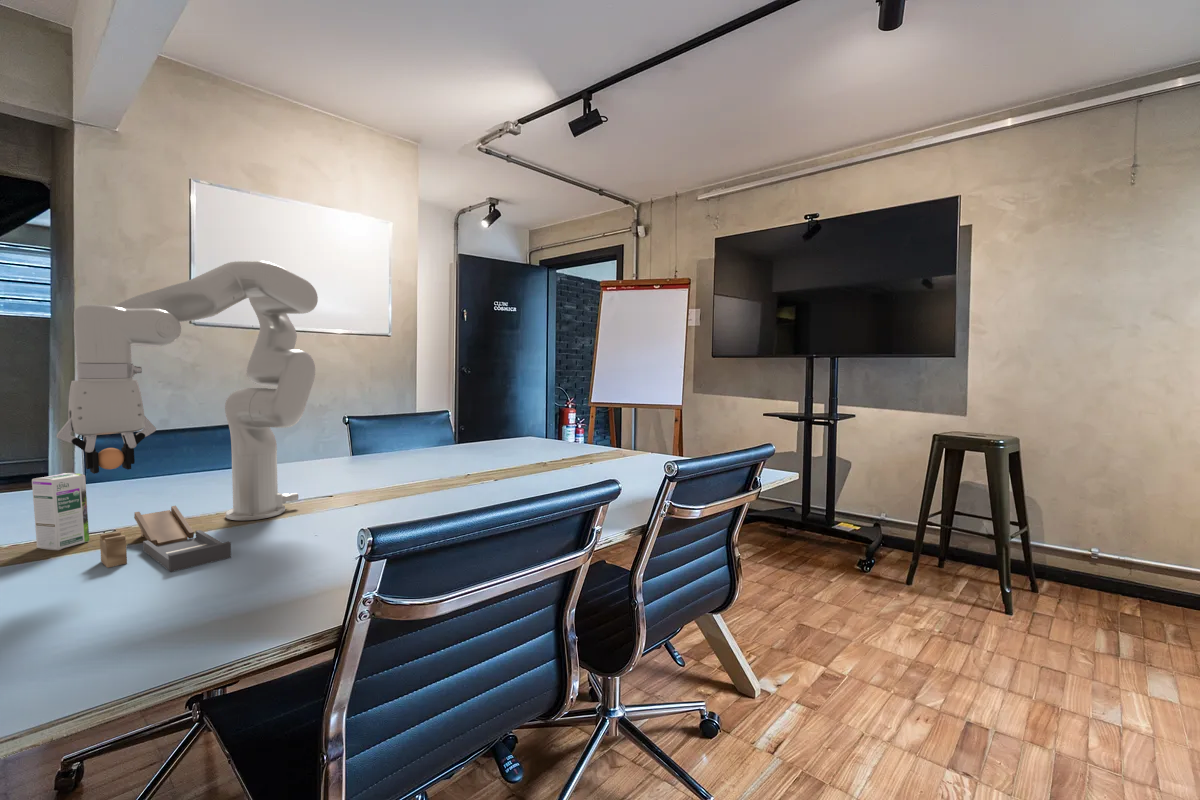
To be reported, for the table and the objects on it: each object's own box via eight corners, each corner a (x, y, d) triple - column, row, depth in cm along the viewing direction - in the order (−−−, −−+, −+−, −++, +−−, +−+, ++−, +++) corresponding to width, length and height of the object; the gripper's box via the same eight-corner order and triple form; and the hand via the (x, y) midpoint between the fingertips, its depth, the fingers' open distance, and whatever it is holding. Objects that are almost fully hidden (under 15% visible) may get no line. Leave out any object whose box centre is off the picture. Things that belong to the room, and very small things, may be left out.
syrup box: (57, 550, 108) (54, 479, 107) (35, 548, 109) (31, 477, 108) (90, 541, 114) (86, 473, 112) (68, 539, 115) (64, 471, 114)
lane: (200, 539, 116) (199, 525, 116) (231, 557, 106) (230, 542, 106) (143, 550, 109) (142, 536, 109) (170, 572, 99) (170, 556, 98)
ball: (122, 466, 104) (120, 445, 104) (127, 468, 102) (126, 447, 102) (94, 469, 101) (92, 448, 101) (99, 472, 99) (98, 450, 98)
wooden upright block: (120, 557, 105) (119, 530, 105) (127, 563, 102) (125, 536, 102) (101, 561, 103) (99, 534, 102) (107, 567, 100) (106, 539, 100)
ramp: (175, 529, 122) (174, 505, 122) (194, 540, 115) (193, 515, 115) (134, 537, 117) (133, 511, 116) (151, 549, 109) (150, 522, 109)
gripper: (155, 371, 109) (160, 461, 110) (37, 372, 96) (44, 474, 97) (167, 373, 104) (172, 466, 106) (45, 374, 91) (52, 481, 93)
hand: (110, 469), depth 101 cm, fingers closed on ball, 4 cm apart
